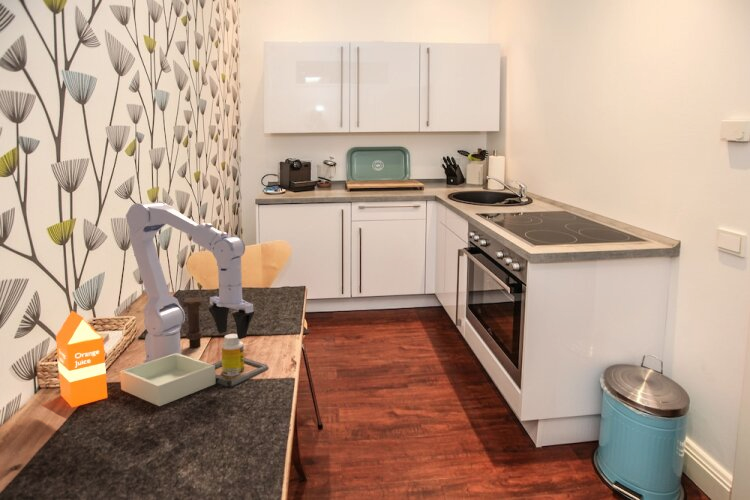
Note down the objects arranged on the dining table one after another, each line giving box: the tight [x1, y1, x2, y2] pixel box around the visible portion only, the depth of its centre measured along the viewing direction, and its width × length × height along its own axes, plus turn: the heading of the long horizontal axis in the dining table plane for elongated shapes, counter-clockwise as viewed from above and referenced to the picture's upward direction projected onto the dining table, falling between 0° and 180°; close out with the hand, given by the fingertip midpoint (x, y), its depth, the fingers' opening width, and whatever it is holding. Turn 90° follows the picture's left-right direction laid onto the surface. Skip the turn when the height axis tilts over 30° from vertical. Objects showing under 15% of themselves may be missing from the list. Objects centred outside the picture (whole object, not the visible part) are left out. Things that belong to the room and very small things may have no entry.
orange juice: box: [55, 310, 108, 408], centre depth 123 cm, size 8×9×20 cm
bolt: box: [182, 297, 204, 349], centre depth 157 cm, size 6×5×15 cm
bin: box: [119, 353, 217, 407], centre depth 130 cm, size 16×16×5 cm
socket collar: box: [211, 357, 270, 387], centre depth 139 cm, size 13×13×2 cm
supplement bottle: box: [220, 333, 245, 377], centre depth 139 cm, size 6×6×10 cm
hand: (232, 335), depth 138 cm, fingers open, 7 cm apart
